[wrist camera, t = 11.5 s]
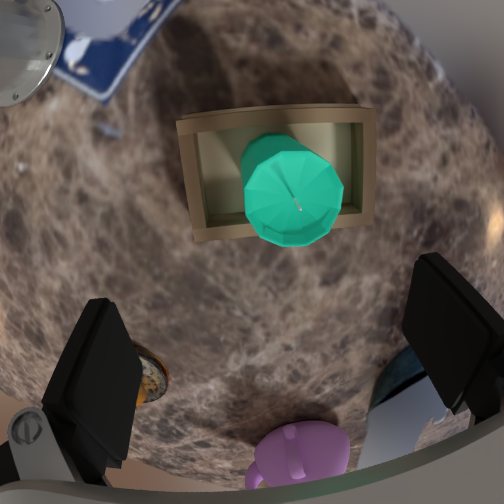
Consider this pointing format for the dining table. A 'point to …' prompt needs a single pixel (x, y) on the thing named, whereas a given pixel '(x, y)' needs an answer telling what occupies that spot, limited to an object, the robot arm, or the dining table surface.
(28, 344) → the dining table surface
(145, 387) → the plate of food
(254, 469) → the teapot
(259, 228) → the candle
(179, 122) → the tray
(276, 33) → the dining table surface
